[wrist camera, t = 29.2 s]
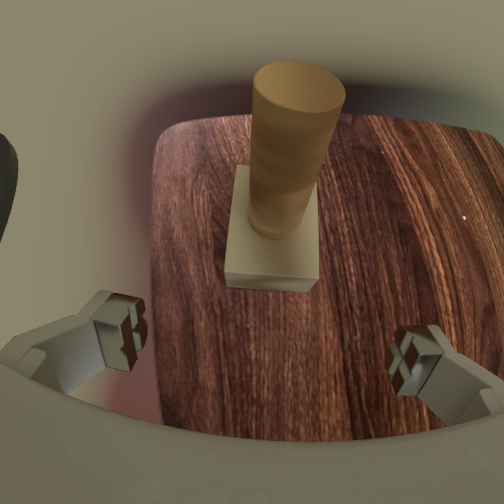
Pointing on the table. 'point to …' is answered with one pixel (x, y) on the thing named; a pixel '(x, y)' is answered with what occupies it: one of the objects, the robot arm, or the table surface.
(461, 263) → the table surface
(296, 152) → the stamp
